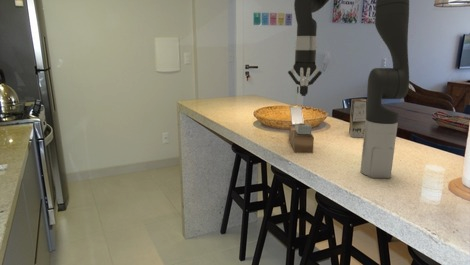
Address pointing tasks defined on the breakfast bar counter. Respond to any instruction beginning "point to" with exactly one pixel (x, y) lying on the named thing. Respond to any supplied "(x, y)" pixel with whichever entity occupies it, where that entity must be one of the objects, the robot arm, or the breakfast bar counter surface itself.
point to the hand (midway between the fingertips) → (303, 95)
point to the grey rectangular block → (303, 128)
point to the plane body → (301, 141)
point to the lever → (296, 114)
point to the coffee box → (357, 118)
